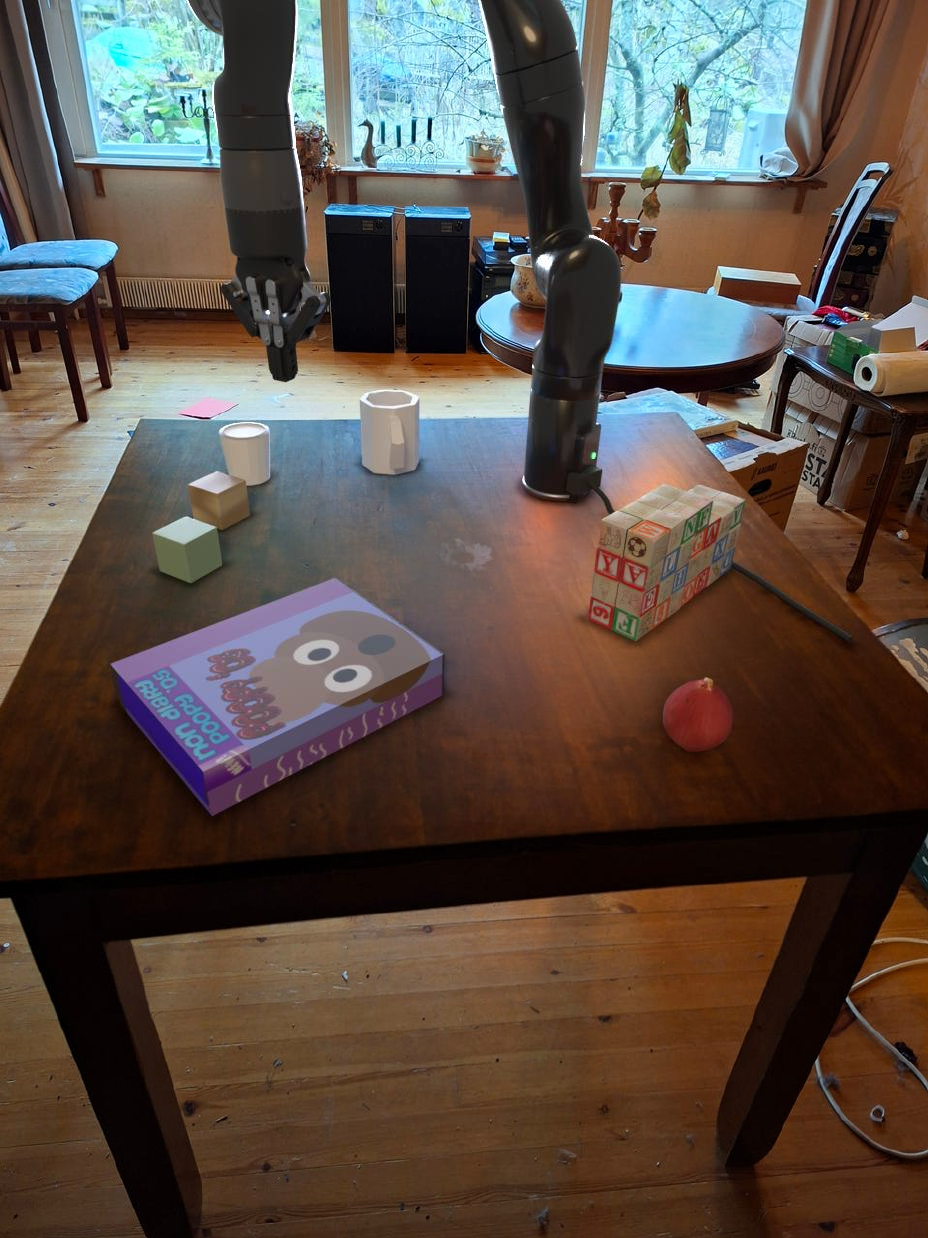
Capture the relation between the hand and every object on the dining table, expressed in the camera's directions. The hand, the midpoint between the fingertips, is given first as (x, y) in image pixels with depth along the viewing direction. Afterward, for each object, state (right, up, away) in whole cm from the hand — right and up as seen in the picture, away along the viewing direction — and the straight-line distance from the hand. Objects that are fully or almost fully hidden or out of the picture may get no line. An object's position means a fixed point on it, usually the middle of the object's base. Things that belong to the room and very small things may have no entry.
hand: (284, 379), depth 90 cm
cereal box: (+12, -27, -7) cm, 31 cm away
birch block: (-12, -13, +18) cm, 25 cm away
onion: (+39, -38, -16) cm, 57 cm away
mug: (+9, -4, +32) cm, 34 cm away
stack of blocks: (+42, -23, +5) cm, 48 cm away
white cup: (-11, -6, +28) cm, 31 cm away
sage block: (-12, -20, +7) cm, 24 cm away
